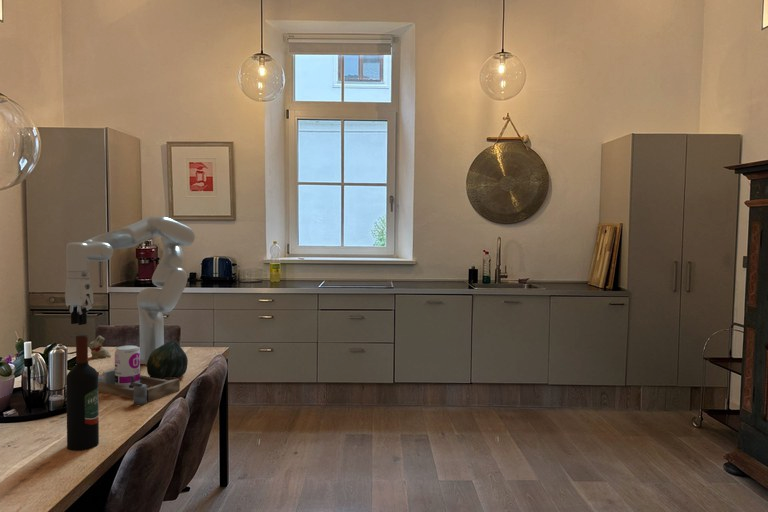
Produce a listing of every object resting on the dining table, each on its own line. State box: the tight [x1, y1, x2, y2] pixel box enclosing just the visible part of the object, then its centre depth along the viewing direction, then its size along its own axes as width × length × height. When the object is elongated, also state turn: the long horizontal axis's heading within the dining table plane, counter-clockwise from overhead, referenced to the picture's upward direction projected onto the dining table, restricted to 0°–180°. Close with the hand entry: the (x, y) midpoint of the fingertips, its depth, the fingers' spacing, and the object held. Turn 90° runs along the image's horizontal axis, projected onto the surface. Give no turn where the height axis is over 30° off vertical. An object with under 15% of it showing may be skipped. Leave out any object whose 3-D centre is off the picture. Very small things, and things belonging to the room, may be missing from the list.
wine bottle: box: [65, 334, 100, 452], centre depth 148 cm, size 8×8×30 cm
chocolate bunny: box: [88, 335, 112, 359], centre depth 240 cm, size 6×8×10 cm
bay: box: [98, 374, 181, 407], centre depth 194 cm, size 19×27×9 cm
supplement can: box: [114, 344, 141, 388], centre depth 198 cm, size 8×8×15 cm
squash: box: [146, 340, 189, 380], centre depth 212 cm, size 14×15×15 cm
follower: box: [97, 368, 115, 385], centre depth 203 cm, size 10×14×6 cm
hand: (78, 323), depth 207 cm, fingers open, 3 cm apart
